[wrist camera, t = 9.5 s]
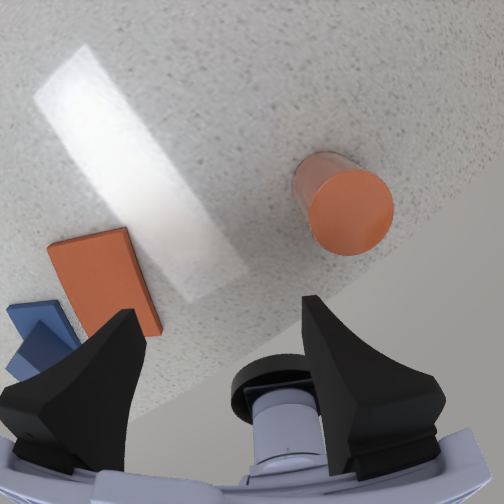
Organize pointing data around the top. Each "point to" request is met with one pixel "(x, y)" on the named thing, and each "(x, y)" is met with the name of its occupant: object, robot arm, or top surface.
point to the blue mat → (43, 320)
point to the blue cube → (37, 353)
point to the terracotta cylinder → (342, 203)
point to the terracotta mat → (103, 280)
